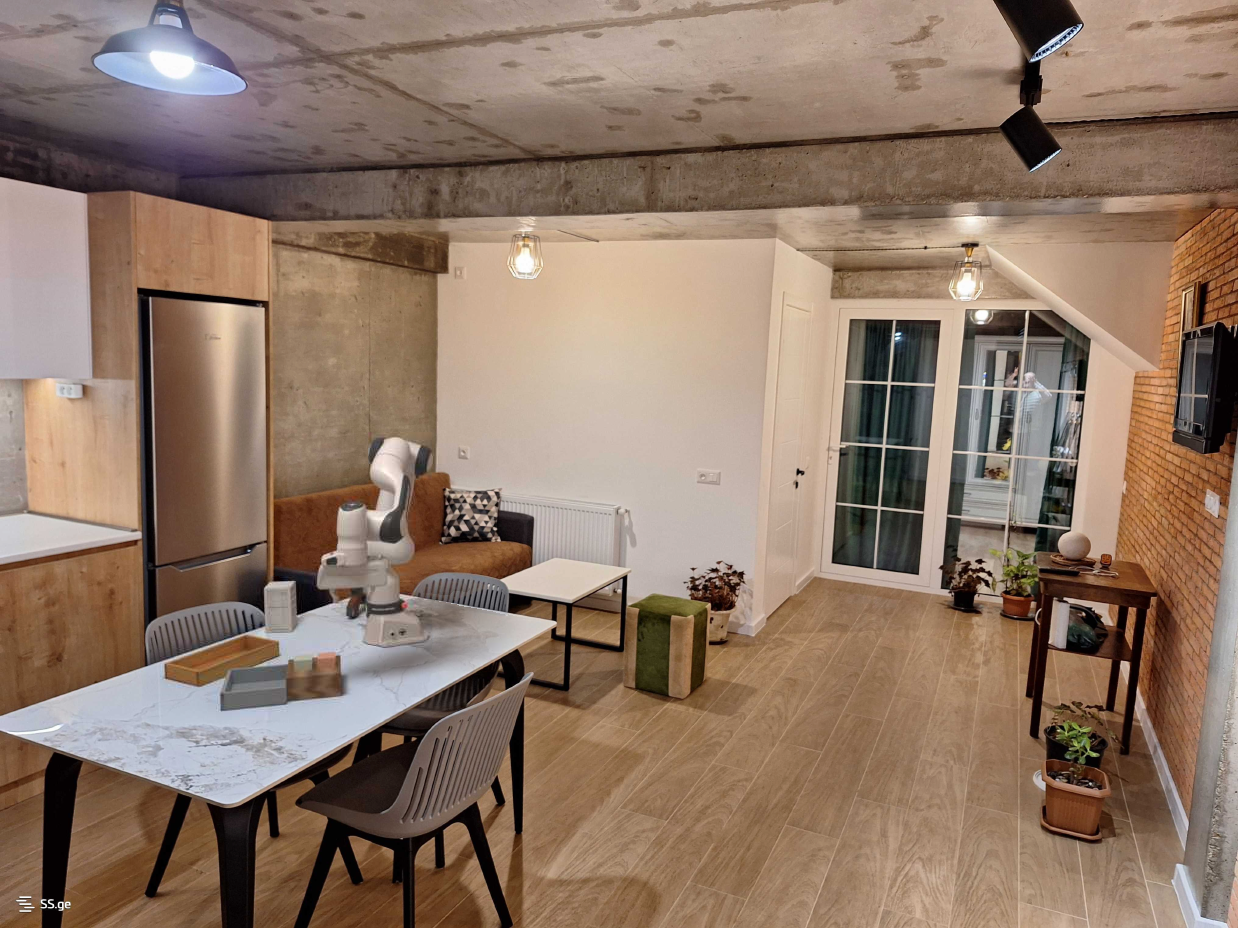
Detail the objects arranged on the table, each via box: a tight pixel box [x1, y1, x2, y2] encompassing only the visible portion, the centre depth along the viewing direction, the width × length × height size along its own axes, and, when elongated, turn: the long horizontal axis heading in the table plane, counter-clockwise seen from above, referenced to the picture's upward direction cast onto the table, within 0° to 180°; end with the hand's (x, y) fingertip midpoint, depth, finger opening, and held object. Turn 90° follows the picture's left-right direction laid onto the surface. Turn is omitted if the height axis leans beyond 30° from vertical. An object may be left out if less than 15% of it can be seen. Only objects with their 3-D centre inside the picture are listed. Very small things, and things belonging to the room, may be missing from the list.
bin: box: [219, 663, 288, 712], centre depth 244 cm, size 17×20×5 cm
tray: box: [163, 634, 280, 688], centre depth 265 cm, size 31×15×6 cm, turn 155°
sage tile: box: [294, 653, 314, 671], centre depth 247 cm, size 5×5×3 cm
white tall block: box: [263, 580, 298, 634], centre depth 304 cm, size 10×9×17 cm
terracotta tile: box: [317, 651, 336, 669], centre depth 250 cm, size 5×5×3 cm
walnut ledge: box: [286, 654, 342, 703], centre depth 249 cm, size 15×16×7 cm
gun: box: [345, 587, 367, 618], centre depth 332 cm, size 5×27×15 cm, turn 174°
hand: (352, 601), depth 250 cm, fingers open, 8 cm apart
